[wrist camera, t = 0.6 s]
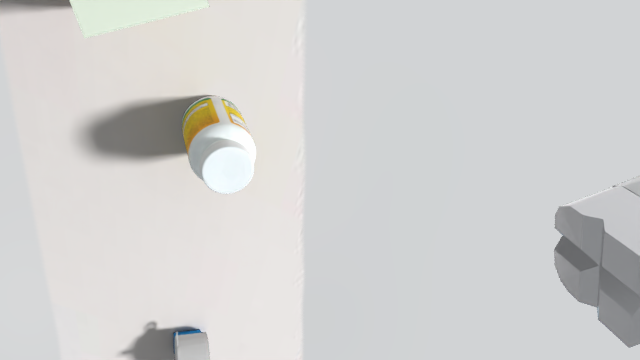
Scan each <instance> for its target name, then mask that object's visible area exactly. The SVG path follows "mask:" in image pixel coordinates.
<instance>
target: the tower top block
mask: <svg viewBox="0 0 640 360" xmlns="http://www.w3.org/2000/svg"><path fill="white" fill-rule="evenodd" d="M69 1H70V3H71V6H72V8H73V11H74V13H75V16H76V18H77V21H78V23H79V26H80V28H81V31H82V33H83V36H84V38H89V37H93V36H97V35H101V34H105V33H108V32H112V31H116V30H120V29H124V28H128V27H132V26H136V25H140V24H144V23H148V22H152V21H156V20H160V19H164V18H168V17H172V16H176V15H180V14H184V13H188V12H191V11H195V10H199V9H203V8H207V7H209V3H208V0H69Z"/></svg>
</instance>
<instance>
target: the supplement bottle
mask: <svg viewBox="0 0 640 360" xmlns="http://www.w3.org/2000/svg"><path fill="white" fill-rule="evenodd" d="M182 132H183V137H184V141H185V145H186V150H187V154H188V158H189V162H190V165H191V168H192V170H193V171H194V173H195V174H196V175H197V176H198V177H199V178H200V179H202V180H203V181H204V182H205V184H206V185H207V186H208V187H209V188H210V189H211V190H213V191H215V192H218V193H222V194H230V193H234V192H237V191H239V190H241V189H243V188H244V187H245V186H246V185H247V184H248V183H249V182H250V180H251V179H252V176H253V173H254V162H255V158H256V148H255V143H254V141H253V138H252V136H251V134H250V132H249V130H248V128H247V126H246V124H245V122H244V119H243V117H242V115H241V113H240V111H239V110H238V108H237V107H236V106H235V105H234V104H233V103H232V102H231V101H229V100H228V99H225V98H223V97H219V96H208V97H203V98H201V99H199V100H197V101H195V102H194V103H193V104H191V105H190V106H189V107H188V109H187V110H186V112H185V113H184V116H183V119H182Z"/></svg>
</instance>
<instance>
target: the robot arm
mask: <svg viewBox="0 0 640 360" xmlns="http://www.w3.org/2000/svg"><path fill="white" fill-rule="evenodd" d="M555 228H556V229H557V230H558V231H559V232H560V233H561V234H562V235H563V236H562V237H561V239H560V241H559V243H558V244H557V246H556V247H555V250H554V256H555V267H556V269H557V272H558V275H559V278H560V280H561V282H562V283H563V285H564V286H565V288H566V289H567V290H568V292H569V293H570V294H571V295H572V296H573V297H574V298H576V299H577V300H578V301H579V302H581V303H585V304H588V305H591V306H594V307H597V313H598V320H599V321H600V322H602V324H604V325H605V326H606V327H607V328H608V329H609V330H610V331H611V332H613V334H614V335H616V336H617V337H618V338H619V339H620V340H621V341H622V342H623V343H624V344H625V345H627V346H628V347H633V346H635V345H638V344H640V176H638V177H636V178H633V179H630V180H628V181H625V182H622V183H620V184H617V185H615V186H613V187H612V188H608V189H605V190H603V191H600V192H597V193H594V194H592V195H589V196H587V197H584V198H581V199H578V200H576V201H573V202H570V203H568V204H565V205H562V206H560V207H559V208H558V210H557V212H556V215H555Z"/></svg>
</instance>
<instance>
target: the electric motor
mask: <svg viewBox="0 0 640 360" xmlns="http://www.w3.org/2000/svg"><path fill="white" fill-rule="evenodd" d="M174 354H175V360H210V352H209V342H208V337H207V334H206V332H201V331H200V330H193V331H184V332H178V331H177V332H175V333H174Z"/></svg>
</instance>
